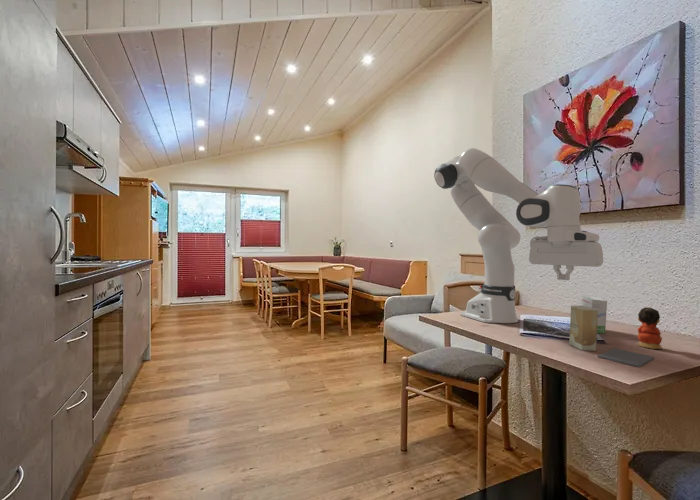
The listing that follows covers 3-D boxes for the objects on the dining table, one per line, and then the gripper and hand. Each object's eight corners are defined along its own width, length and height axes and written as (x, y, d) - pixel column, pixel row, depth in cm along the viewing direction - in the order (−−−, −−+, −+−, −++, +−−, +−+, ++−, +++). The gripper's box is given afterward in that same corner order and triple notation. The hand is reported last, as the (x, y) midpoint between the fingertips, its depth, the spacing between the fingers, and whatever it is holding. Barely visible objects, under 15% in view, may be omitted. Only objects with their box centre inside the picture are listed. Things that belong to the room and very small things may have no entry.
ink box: (578, 326, 126) (579, 295, 126) (594, 327, 125) (595, 296, 125) (590, 332, 118) (591, 299, 118) (607, 333, 117) (607, 300, 117)
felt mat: (597, 357, 93) (597, 355, 93) (614, 349, 100) (614, 348, 100) (638, 367, 86) (638, 365, 86) (654, 358, 92) (654, 356, 92)
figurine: (666, 351, 98) (668, 310, 98) (643, 349, 100) (644, 309, 100) (655, 345, 104) (656, 306, 104) (633, 343, 106) (634, 305, 106)
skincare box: (568, 344, 105) (569, 305, 104) (582, 344, 104) (583, 305, 104) (582, 351, 98) (583, 309, 98) (597, 351, 98) (598, 309, 98)
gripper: (525, 236, 112) (525, 277, 112) (596, 234, 95) (596, 283, 95) (535, 236, 116) (535, 276, 116) (605, 235, 99) (605, 281, 99)
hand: (563, 279), depth 106 cm, fingers closed
